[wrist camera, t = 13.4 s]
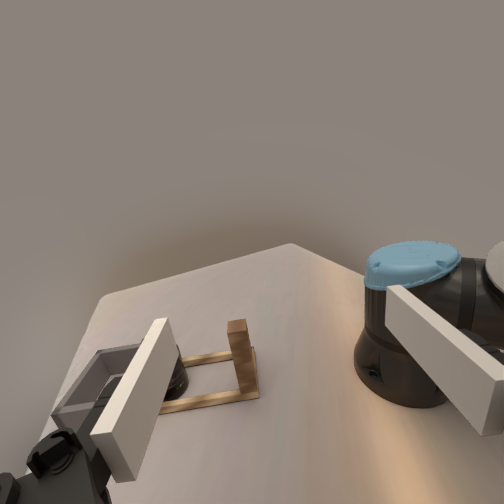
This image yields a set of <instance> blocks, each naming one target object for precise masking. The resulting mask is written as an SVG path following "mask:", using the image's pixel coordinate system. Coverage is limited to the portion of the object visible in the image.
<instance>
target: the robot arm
mask: <svg viewBox="0 0 504 504" xmlns="http://www.w3.org/2000/svg"><path fill="white" fill-rule="evenodd" d="M364 284H365V327H364V329H363V331H362V333H361V335H360V337H359V339H358V341H357V344H356V346H355V350H354V366H355V369H356V372H357V374H358V375H359V377H360V378H361V380H362V381H363V382H364V383H365V384H366V385H367V386H368V387H369V388H370V389H371V390H372V391H374V392H375V393H376V394H378V395H380V396H381V397H383V398H385V399H387V400H389V401H391V402H394V403H397V404H400V405H403V406H408V407H415V408H427V407H433V406H437V405H439V404H441V403H443V402H445V401H446V400H447V399H448V398H449V400H450V401H451V402H452V403H453V404H454V405H455V407H456V408H457V409H458V410H459V411H460V412H461V413H462V415H463V416H464V417H465V418H466V419H467V420H468V421H469V423H470V424H471V425H472V426H473V427H474V428H475V430H476V431H477V432H478V433H479V434H480V435H481V436H486V435H494V434H502V432H503V429H504V353H501V352H500V350H499V349H502V350H504V241H502V242H500V243H499V244H497V245H496V246H495V247H493V248H492V249H491V251H490V252H489V253H488V255H487V258H486V259H478V258H462V257H461V255H460V254H459V252H458V250H457V249H456V248H455V247H454V246H451V245H448V244H446V243H438V242H434V241H409V242H401V243H396V244H392V245H388V246H385V247H383V248H380V249H378V250H376V251H375V252H373V253H372V254H371V255H370V257H369V258H368V260H367V263H366V274H365V278H364ZM178 355H179V352H178V349H177V346H176V342H175V339H174V336H173V333H172V330H171V326H170V323H169V320H168V318H161V319H155V321H154V322H153V324H152V326H151V328H150V329H149V331H148V333H147V335H146V336H145V338H144V340H143V342H142V344H141V345H140V347H139V349H138V351H137V352H136V354H135V356H134V358H133V359H132V361H131V363H130V365H129V366H128V368H127V370H126V372H125V373H124V375H123V376H122V377H115V378H114V379H113V380H112V381H111V382H110V383H108V384H107V385H106V386H105V388H104V389H103V391H102V392H101V394H100V396H99V397H98V400H96V402H95V404H94V405H93V408H92V409H91V410H90V412H89V413H88V415H87V417H86V418H85V420H84V421H83V423H82V425H81V426H80V428H79V429H78V431H77V433H76V434H75V432H74V431H73V429H72V428H68V427H65V428H61V429H58V430H56V431H54V432H52V433H50V434H49V435H47V436H46V437H45V438H43V439H42V440H41V441H40V442H39V443H38V444H37V445H36V446H35V447H34V448H33V450H32V451H31V453H30V455H29V456H28V459H27V463H26V464H27V466H28V467H29V469H30V470H31V471H32V473H30V474H27V475H25V476H23V477H21V478H19V479H15V478H14V477H13V476H12V474H11V473H1V474H0V504H112V502H111V498H110V495H109V491H108V489H107V487H106V485H107V483H108V480H109V478H110V476H111V474H112V476H113V478H114V480H115V482H116V483H121V482H129V481H136V479H137V476H138V473H139V470H140V467H141V464H142V461H143V458H144V455H145V452H146V449H147V446H148V443H149V441H150V438H151V435H152V432H153V429H154V426H155V423H156V420H157V417H158V414H159V411H160V408H161V405H162V402H163V399H164V396H165V394H166V391H167V388H168V385H169V382H170V379H171V376H172V373H173V370H174V367H175V364H176V361H177V358H178Z"/></svg>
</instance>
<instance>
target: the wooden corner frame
mask: <svg viewBox="0 0 504 504" xmlns="http://www.w3.org/2000/svg"><path fill="white" fill-rule="evenodd" d="M227 335H228V339H229V344H230V348H231V350H230V351H224V352H218V353H212V354H206V355H200V356H194V357H188V358H182V360H183V363H184V366H185V367H188V366H194V365H200V364H206V363H212V362H218V361H224V360H230V359H233V361H234V366H235V370H236V375H237V379H238V384H239V388H240V389H238V390H232V391H226V392H220V393H214V394H208V395H202V396H196V397H190V398H184V399H178V400H172V401H166V402H162V405H161V408H160V411H159V414H163V413H169V412H175V411H181V410H187V409H193V408H199V407H205V406H211V405H217V404H223V403H229V402H235V401H241V400H247V399H253V398H259V391H258V381H257V371H256V361H255V352H254V347H251V345H250V339H249V334H248V329H247V323H246V319H240V320H234V321H228V327H227Z"/></svg>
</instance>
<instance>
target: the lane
mask: <svg viewBox="0 0 504 504" xmlns="http://www.w3.org/2000/svg"><path fill="white" fill-rule="evenodd" d="M140 345H141V343H139V344H133V345H127V346H121V347H115V348H109V349H103V350H98V351H97V352H96V354H95V355H94V356H93V358H92V359H91V360H90V362H89V363H88V365H87V366H86V367H85V369H84V370H83V371H82V373H81V374H80V375H79V377H78V378H77V380H76V381H75V382H74V384H73V385H72V386H71V388H70V389H69V390H68V392H67V393H66V395H65V396H64V397H63V399H62V400H61V401H60V403H59V404H58V405H57V407H56V408H55V410H54V411H53V412H52V414H51V417H52V418H53V420H54V422H55V423H56V425H57V426H58V428H59V429H61V428H65V427H68V428H72V429H73V431H74V432H75V434H76V433H77V431H78V429H79V428H80V426H81V425H82V423H83V421H84V420H85V418H86V417H87V415H88V413H89V412H90V410H91V409H92V408H93V405H94V404H95V402H96V401H95V400H96V399H97V397H98V395H99V394H100V392H101V390H102V389H103V387H104V385H105V383H106V382H107V380H108V378H109V377H110V375H113V374H119V373H125V372H126V370H127V368H128V366H129V365H130V363H131V361H132V359H133V358H134V356H135V354H136V352H137V351H138V349H139V347H140Z"/></svg>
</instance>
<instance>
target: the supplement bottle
mask: <svg viewBox="0 0 504 504" xmlns="http://www.w3.org/2000/svg"><path fill="white" fill-rule="evenodd" d="M143 340H144V339H143ZM143 340H142V341H141V344H142V342H143ZM176 346H177V344H176ZM177 349H178V352H179V355H178V358H177V361H176V364H175V367H174V370H173V373H172V376H171V379H170V382H169V385H168V388H167V391H166V394H165V396H164V399H163V402H166V401H172V400H174V399H176V398H178V397H179V396H180V395H181V394H182V393H183V392H184V391H185V389H186V388H187V385H188V376H187V373H186V370H185V366H184V363H183V360H182V357H181V354H180V351H179V348H178V346H177Z"/></svg>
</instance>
